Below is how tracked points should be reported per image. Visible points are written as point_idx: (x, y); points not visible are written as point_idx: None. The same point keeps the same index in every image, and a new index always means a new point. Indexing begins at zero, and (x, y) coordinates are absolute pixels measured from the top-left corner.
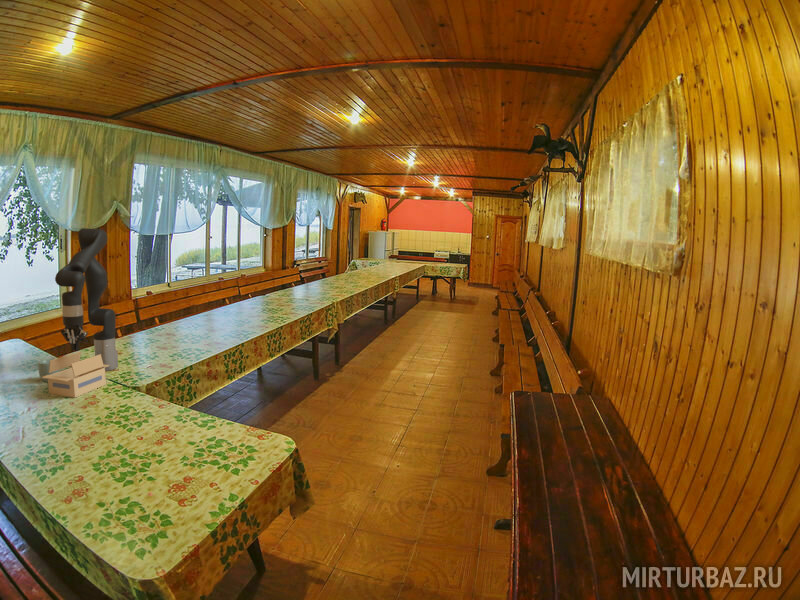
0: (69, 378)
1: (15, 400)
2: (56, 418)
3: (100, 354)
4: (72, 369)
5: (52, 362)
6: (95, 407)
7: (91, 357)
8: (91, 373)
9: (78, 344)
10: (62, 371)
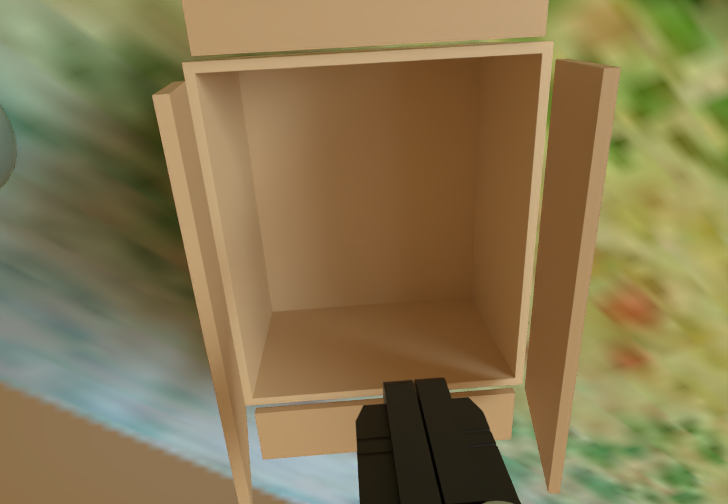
0: (496, 401)
1: (197, 430)
2: (597, 478)
3: (617, 73)
4: (537, 438)
5: (247, 473)
6: (691, 344)
7: (593, 248)
8: (534, 216)
9: (512, 496)
10: (233, 284)
